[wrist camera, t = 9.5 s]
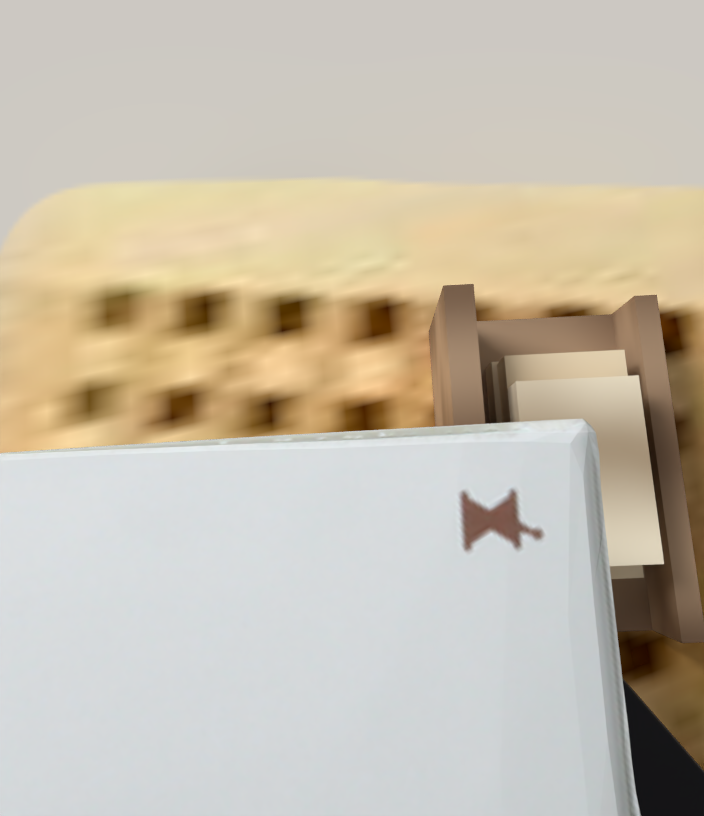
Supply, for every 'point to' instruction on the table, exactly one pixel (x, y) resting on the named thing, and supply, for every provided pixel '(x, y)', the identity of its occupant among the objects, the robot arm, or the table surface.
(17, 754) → the supplement box
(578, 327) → the tray
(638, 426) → the offcut stack
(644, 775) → the robot arm
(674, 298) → the table surface
